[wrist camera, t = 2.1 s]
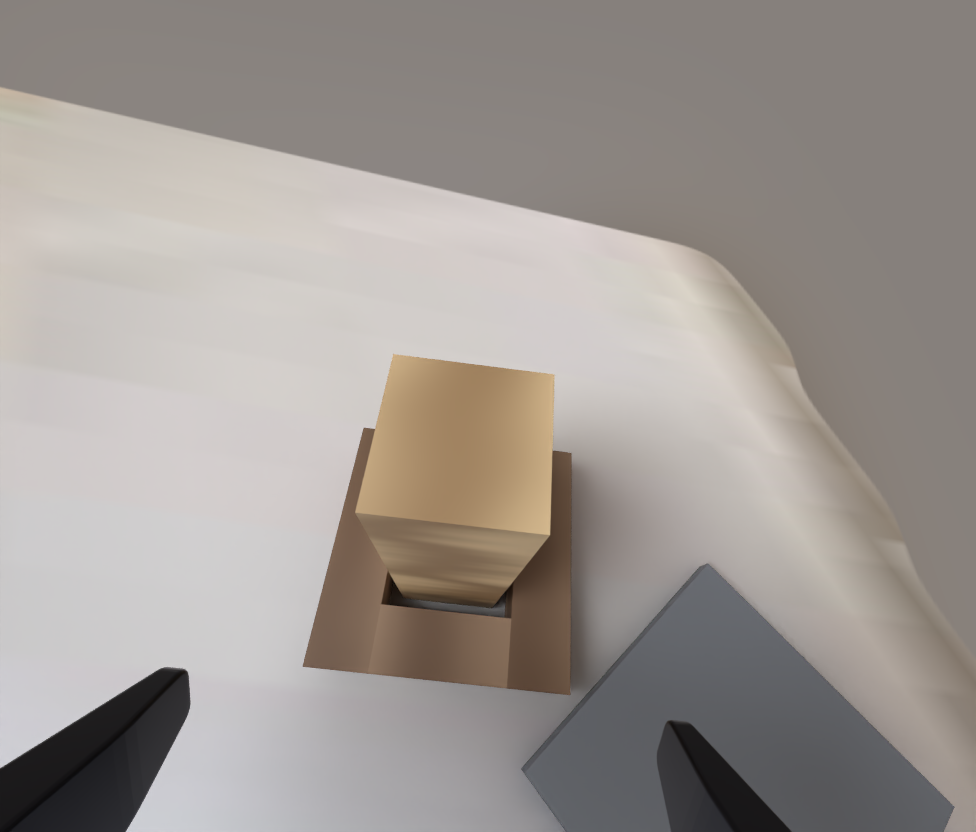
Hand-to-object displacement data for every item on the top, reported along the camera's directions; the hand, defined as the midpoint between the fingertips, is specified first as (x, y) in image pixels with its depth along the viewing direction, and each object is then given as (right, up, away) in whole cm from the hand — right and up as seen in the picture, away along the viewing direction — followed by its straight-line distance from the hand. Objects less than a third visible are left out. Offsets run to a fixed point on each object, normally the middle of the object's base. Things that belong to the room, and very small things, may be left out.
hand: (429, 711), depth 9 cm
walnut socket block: (-1, -1, +13) cm, 13 cm away
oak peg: (-1, -1, +13) cm, 13 cm away
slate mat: (+11, -9, +10) cm, 17 cm away
